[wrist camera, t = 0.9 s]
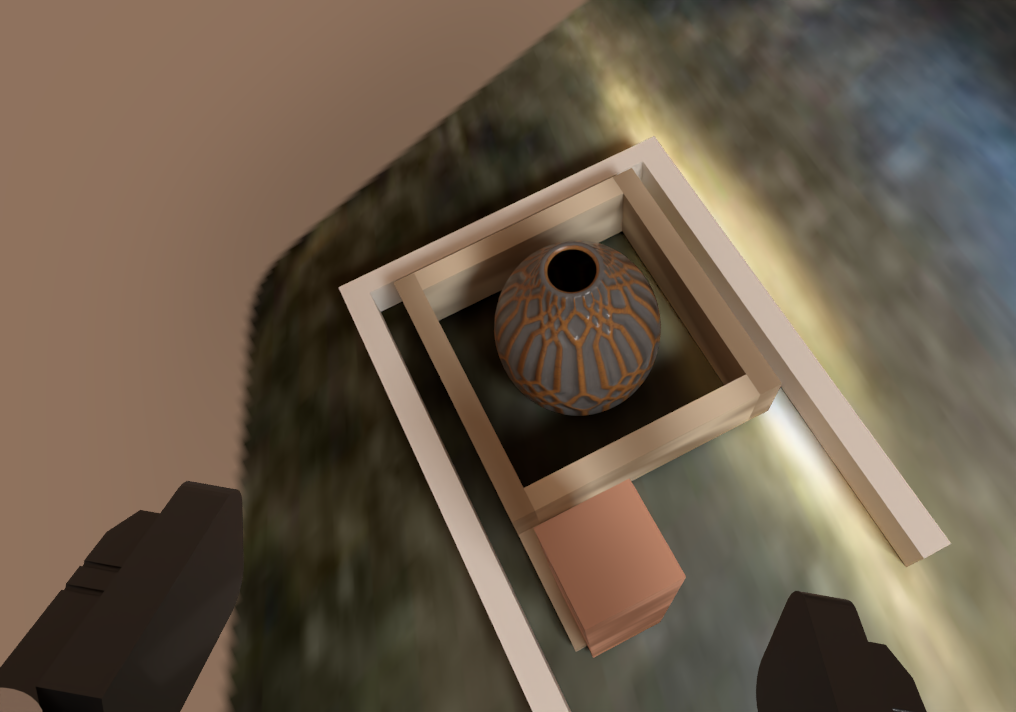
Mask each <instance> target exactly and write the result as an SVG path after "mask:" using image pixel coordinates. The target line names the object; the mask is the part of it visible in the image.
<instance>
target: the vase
mask: <svg viewBox="0 0 1016 712" xmlns="http://www.w3.org/2000/svg"><path fill="white" fill-rule="evenodd" d="M660 332H661V321H660V313H659V308H658V304H657V301H656V298H655V295H654V293H653V291H652V288H651V287H650V285H649V283H648V281H647V280H646V278H645V277H644V275H643V274H642V272H641V271H640V270H639V269H638V268H637V266H636V265H635V264H634V263H633V262H631V261H630V260H629V259H628V258H627V257H625V256H624V255H623V254H621V253H620V252H618V251H616V250H615V249H612V248H610V247H608V246H606V245H603V244H599V243H595V242H590V241H582V240H571V241H563V242H559V243H555V244H552V245H549V246H546V247H544V248H542V249H540V250H538V251H536V252H534V253H533V254H531V255H530V256H529V257H527V258H526V259H525V260H524V261H523V262H521V263H520V264H519V266H518V267H517V268H516V269H515V270H514V271H513V272H512V274H511V275H510V277H509V278H508V280H507V282H506V283H505V285H504V287H503V289H502V292H501V294H500V297H499V300H498V303H497V308H496V312H495V319H494V336H495V342H496V347H497V351H498V355H499V358H500V360H501V363H502V365H503V367H504V369H505V371H506V373H507V375H508V376H509V378H510V380H511V381H512V382H513V384H514V385H515V386H516V387H517V388H518V390H519V391H520V392H521V393H523V394H524V395H525V396H526V397H527V398H529V399H530V400H531V401H533V402H534V403H536V404H537V405H539V406H541V407H543V408H545V409H547V410H550V411H553V412H556V413H560V414H565V415H573V416H583V415H592V414H596V413H600V412H603V411H606V410H608V409H611V408H613V407H615V406H617V405H618V404H620V403H622V402H623V401H625V400H626V399H628V398H629V397H630V396H631V395H632V394H633V393H634V392H635V391H636V390H637V389H638V388H639V387H640V386H641V384H642V383H643V382H644V381H645V379H646V378H647V376H648V374H649V373H650V371H651V369H652V366H653V364H654V361H655V359H656V355H657V352H658V347H659V342H660Z"/></svg>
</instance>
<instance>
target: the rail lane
mask: <svg viewBox="0 0 1016 712" xmlns="http://www.w3.org/2000/svg"><path fill="white" fill-rule="evenodd" d="M630 168H632V169H633V170H634V172H635V173H636V175H637V176H638V177H639V179H640V180H641V182H642V183H643V185H644V186H645V187H646V189H647V190H648V192H649V193H650V195H651V196H652V197H653V199H654V200H655V202H656V203H657V205H658V206H659V207H660V209H661V210H662V212H663V213H664V215H665V216H666V218H667V219H668V220H669V222H670V223H671V225H672V226H673V228H674V229H675V230H676V232H677V233H678V235H679V236H680V238H681V239H682V240H683V242H684V243H685V245H686V246H687V248H688V249H689V251H690V252H691V253H692V255H693V256H694V258H695V259H696V261H697V262H698V263H699V265H700V266H701V268H702V269H703V271H704V272H705V273H706V275H707V276H708V278H709V279H710V281H711V282H712V284H713V285H714V286H715V288H716V289H717V291H718V292H719V294H720V295H721V296H722V298H723V299H724V301H725V302H726V304H727V305H728V306H729V308H730V309H731V311H732V312H733V314H734V315H735V317H736V318H737V319H738V321H739V322H740V324H741V325H742V327H743V328H744V329H745V331H746V332H747V334H748V335H749V337H750V338H751V339H752V341H753V342H754V344H755V345H756V347H757V348H758V350H759V351H760V352H761V354H762V355H763V357H764V358H765V360H766V361H767V362H768V364H769V365H770V367H771V368H772V370H773V371H774V372H775V374H776V375H777V377H778V378H779V380H780V381H781V383H782V385H781V387H782V389H783V390H784V392H785V393H786V395H787V396H788V397H789V399H790V400H791V402H792V403H793V405H794V406H795V408H796V409H797V410H798V412H799V413H800V415H801V416H802V418H803V419H804V420H805V422H806V423H807V425H808V426H809V428H810V429H811V431H812V432H813V433H814V435H815V436H816V438H817V439H818V441H819V442H820V443H821V445H822V446H823V448H824V449H825V451H826V452H827V454H828V455H829V456H830V458H831V459H832V461H833V462H834V464H835V465H836V467H837V468H838V469H839V471H840V472H841V474H842V475H843V477H844V478H845V479H846V481H847V482H848V484H849V485H850V487H851V488H852V490H853V491H854V492H855V494H856V495H857V497H858V498H859V500H860V501H861V502H862V504H863V505H864V507H865V508H866V510H867V511H868V513H869V514H870V515H871V517H872V518H873V520H874V521H875V523H876V524H877V525H878V527H879V528H880V530H881V531H882V533H883V534H884V536H885V537H886V538H887V540H888V541H889V543H890V544H891V546H892V547H893V549H894V550H895V551H896V553H897V554H898V556H899V557H900V559H901V560H902V561H903V563H904V564H905V566H906V567H907V566H910V565H912V564H914V563H916V562H918V561H920V560H922V559H924V558H926V557H928V556H929V555H931V554H933V553H935V552H937V551H939V550H941V549H942V548H944V547H946V546H948V545H950V544H951V543H950V541H949V540H948V539H947V537H946V536H945V535H944V533H943V532H942V530H941V529H940V528H939V526H938V525H937V524H936V522H935V521H934V519H933V518H932V517H931V515H930V514H929V513H928V511H927V510H926V509H925V507H924V506H923V504H922V503H921V502H920V500H919V499H918V498H917V496H916V495H915V493H914V492H913V491H912V489H911V488H910V487H909V485H908V484H907V482H906V481H905V480H904V478H903V477H902V476H901V474H900V473H899V471H898V470H897V469H896V467H895V466H894V465H893V463H892V462H891V460H890V459H889V458H888V456H887V455H886V454H885V452H884V451H883V449H882V448H881V447H880V445H879V444H878V443H877V441H876V440H875V438H874V437H873V436H872V434H871V433H870V432H869V430H868V429H867V428H866V426H865V425H864V423H863V422H862V421H861V419H860V418H859V417H858V415H857V414H856V412H855V411H854V410H853V408H852V407H851V406H850V404H849V403H848V401H847V400H846V399H845V397H844V396H843V395H842V393H841V392H840V390H839V389H838V388H837V386H836V385H835V384H834V382H833V381H832V379H831V378H830V377H829V375H828V374H827V373H826V371H825V370H824V368H823V367H822V366H821V364H820V363H819V362H818V360H817V359H816V357H815V356H814V355H813V353H812V352H811V351H810V349H809V348H808V347H807V345H806V344H805V342H804V341H803V340H802V338H801V337H800V336H799V334H798V333H797V331H796V330H795V329H794V327H793V326H792V325H791V323H790V322H789V320H788V319H787V318H786V316H785V315H784V314H783V312H782V311H781V309H780V308H779V307H778V305H777V304H776V303H775V301H774V300H773V298H772V297H771V296H770V294H769V293H768V292H767V290H766V289H765V287H764V286H763V285H762V283H761V282H760V281H759V279H758V278H757V276H756V275H755V274H754V272H753V271H752V270H751V268H750V267H749V266H748V264H747V263H746V261H745V260H744V259H743V257H742V256H741V255H740V253H739V252H738V250H737V249H736V248H735V246H734V245H733V244H732V242H731V241H730V239H729V238H728V237H727V235H726V234H725V233H724V231H723V230H722V228H721V227H720V226H719V224H718V223H717V222H716V220H715V219H714V217H713V216H712V215H711V213H710V212H709V211H708V209H707V208H706V206H705V205H704V204H703V202H702V201H701V200H700V198H699V197H698V195H697V194H696V193H695V191H694V190H693V189H692V187H691V186H690V185H689V183H688V182H687V180H686V179H685V178H684V176H683V175H682V174H681V172H680V171H679V169H678V168H677V167H676V165H675V164H674V163H673V161H672V160H671V158H670V157H669V156H668V154H667V153H666V152H665V150H664V149H663V147H662V146H661V145H660V143H659V142H658V141H657V139H656V138H655V136H653V137H651V138H649V139H647V140H645V141H643V142H641V143H639V144H636V145H634V146H632V147H630V148H628V149H626V150H624V151H622V152H620V153H618V154H616V155H614V156H611V157H609V158H607V159H605V160H603V161H601V162H599V163H597V164H595V165H593V166H591V167H589V168H586V169H584V170H582V171H580V172H578V173H576V174H574V175H572V176H570V177H568V178H566V179H563V180H561V181H559V182H557V183H555V184H553V185H551V186H549V187H547V188H545V189H543V190H541V191H538V192H536V193H534V194H532V195H530V196H528V197H526V198H524V199H522V200H520V201H518V202H516V203H513V204H511V205H509V206H507V207H505V208H503V209H501V210H499V211H497V212H495V213H493V214H490V215H488V216H486V217H484V218H482V219H480V220H478V221H476V222H474V223H472V224H470V225H468V226H465V227H463V228H461V229H459V230H457V231H455V232H453V233H451V234H449V235H447V236H445V237H443V238H440V239H438V240H436V241H434V242H432V243H430V244H428V245H426V246H424V247H422V248H420V249H417V250H415V251H413V252H411V253H409V254H407V255H405V256H403V257H401V258H399V259H397V260H395V261H392V262H390V263H388V264H386V265H384V266H382V267H380V268H378V269H376V270H374V271H372V272H370V273H367V274H365V275H363V276H361V277H359V278H357V279H355V280H353V281H351V282H349V283H347V284H344V285H342V286H340V287H339V290H340V292H341V294H342V296H343V298H344V300H345V303H346V305H347V307H348V309H349V311H350V314H351V316H352V318H353V320H354V322H355V325H356V327H357V329H358V331H359V333H360V335H361V338H362V340H363V342H364V344H365V346H366V349H367V351H368V353H369V355H370V357H371V360H372V362H373V364H374V366H375V368H376V370H377V373H378V375H379V377H380V379H381V381H382V384H383V386H384V388H385V390H386V392H387V395H388V397H389V399H390V401H391V403H392V405H393V408H394V410H395V412H396V414H397V416H398V419H399V421H400V423H401V425H402V427H403V430H404V432H405V434H406V436H407V438H408V440H409V443H410V445H411V447H412V449H413V451H414V454H415V456H416V458H417V460H418V462H419V464H420V467H421V469H422V471H423V473H424V475H425V478H426V480H427V482H428V484H429V486H430V489H431V491H432V493H433V495H434V497H435V499H436V502H437V504H438V506H439V508H440V510H441V513H442V515H443V517H444V519H445V521H446V524H447V526H448V528H449V530H450V532H451V534H452V537H453V539H454V541H455V543H456V545H457V548H458V550H459V552H460V554H461V556H462V559H463V561H464V563H465V565H466V567H467V569H468V572H469V574H470V576H471V578H472V580H473V583H474V585H475V587H476V589H477V591H478V594H479V596H480V598H481V600H482V602H483V604H484V607H485V609H486V611H487V613H488V615H489V618H490V620H491V622H492V624H493V626H494V629H495V631H496V633H497V635H498V637H499V639H500V642H501V644H502V646H503V648H504V650H505V653H506V655H507V657H508V659H509V661H510V663H511V666H512V668H513V670H514V672H515V674H516V677H517V679H518V681H519V683H520V685H521V688H522V690H523V692H524V694H525V696H526V698H527V701H528V703H529V705H530V707H531V709H532V712H571V710H570V708H569V706H568V704H567V702H566V700H565V698H564V695H563V693H562V691H561V689H560V687H559V685H558V683H557V681H556V679H555V677H554V675H553V672H552V670H551V668H550V666H549V664H548V662H547V660H546V658H545V656H544V654H543V651H542V649H541V647H540V645H539V643H538V641H537V639H536V637H535V635H534V633H533V630H532V628H531V626H530V624H529V622H528V620H527V618H526V616H525V614H524V612H523V609H522V607H521V605H520V603H519V601H518V599H517V597H516V595H515V593H514V591H513V589H512V586H511V584H510V582H509V580H508V578H507V576H506V574H505V572H504V570H503V568H502V565H501V563H500V561H499V559H498V557H497V555H496V553H495V551H494V549H493V547H492V544H491V542H490V540H489V538H488V536H487V534H486V532H485V530H484V528H483V526H482V523H481V521H480V519H479V517H478V515H477V513H476V511H475V509H474V507H473V505H472V502H471V500H470V498H469V496H468V494H467V492H466V490H465V488H464V486H463V484H462V482H461V479H460V477H459V475H458V473H457V471H456V469H455V467H454V465H453V463H452V461H451V458H450V456H449V454H448V452H447V450H446V448H445V446H444V444H443V442H442V440H441V437H440V435H439V433H438V431H437V429H436V427H435V425H434V423H433V421H432V419H431V416H430V414H429V412H428V410H427V408H426V406H425V404H424V402H423V400H422V398H421V396H420V393H419V391H418V389H417V387H416V385H415V383H414V381H413V379H412V377H411V375H410V372H409V370H408V368H407V366H406V364H405V362H404V360H403V358H402V356H401V354H400V351H399V349H398V347H397V345H396V343H395V341H394V339H393V337H392V335H391V333H390V330H389V328H388V326H387V324H386V322H385V320H384V318H383V316H382V314H381V311H383V310H385V309H388V308H390V307H392V306H394V305H396V304H398V303H400V302H402V299H401V297H400V295H399V293H398V291H397V289H396V287H395V285H394V282H396V281H398V280H400V279H402V278H404V277H406V276H408V275H410V274H412V273H414V272H417V271H419V270H421V269H423V268H425V267H427V266H429V265H431V264H433V263H435V262H437V261H439V260H441V259H444V258H446V257H448V256H450V255H452V254H454V253H456V252H458V251H460V250H462V249H464V248H466V247H468V246H470V245H473V244H475V243H477V242H479V241H481V240H483V239H485V238H487V237H489V236H491V235H493V234H495V233H497V232H500V231H502V230H504V229H506V228H508V227H510V226H512V225H514V224H516V223H518V222H520V221H522V220H524V219H527V218H529V217H531V216H533V215H535V214H537V213H539V212H541V211H543V210H545V209H547V208H549V207H551V206H554V205H556V204H558V203H560V202H562V201H564V200H566V199H568V198H570V197H572V196H574V195H576V194H578V193H580V192H583V191H585V190H587V189H589V188H591V187H593V186H595V185H597V184H599V183H601V182H603V181H605V180H607V179H610V178H612V177H614V176H616V175H618V174H620V173H622V172H624V171H626V170H628V169H630Z"/></svg>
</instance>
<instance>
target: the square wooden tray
mask: <svg viewBox="0 0 1016 712" xmlns="http://www.w3.org/2000/svg"><path fill="white" fill-rule="evenodd" d="M621 231H623V233H624V234H625V236H626V237H627V239H628V241H629V242H630V244H631V245H632V247H633V248H634V250H635V251H636V253H637V254H638V256H639V257H640V259H641V260H642V262H643V263H644V265H645V266H646V268H647V269H648V271H649V272H650V274H651V275H652V277H653V278H654V280H655V281H656V283H657V284H658V286H659V287H660V289H661V290H662V292H663V293H664V295H665V296H666V298H667V299H668V301H669V302H670V304H671V306H672V307H673V309H674V310H675V312H676V313H677V315H678V316H679V318H680V319H681V321H682V322H683V324H684V325H685V327H686V328H687V330H688V331H689V333H690V334H691V336H692V337H693V339H694V340H695V342H696V343H697V345H698V346H699V348H700V349H701V351H702V352H703V354H704V355H705V357H706V358H707V360H708V361H709V363H710V364H711V366H712V367H713V369H714V371H715V372H716V374H717V375H718V377H719V378H720V380H721V381H722V383H723V384H724V386H722V387H720V388H718V389H716V390H714V391H713V392H711V393H709V394H707V395H705V396H703V397H701V398H699V399H697V400H695V401H693V402H691V403H689V404H687V405H685V406H683V407H681V408H679V409H677V410H675V411H673V412H671V413H670V414H668V415H666V416H664V417H662V418H660V419H658V420H656V421H654V422H652V423H650V424H648V425H646V426H644V427H642V428H640V429H638V430H636V431H634V432H632V433H630V434H628V435H627V436H625V437H623V438H621V439H619V440H617V441H615V442H613V443H611V444H609V445H607V446H605V447H603V448H601V449H599V450H597V451H595V452H593V453H591V454H589V455H587V456H585V457H584V458H582V459H580V460H578V461H576V462H574V463H572V464H570V465H568V466H566V467H564V468H562V469H560V470H558V471H556V472H554V473H552V474H550V475H548V476H546V477H544V478H542V479H541V480H539V481H537V482H535V483H533V484H531V485H529V486H527V487H525V488H523V486H522V484H521V482H520V480H519V478H518V476H517V474H516V472H515V470H514V468H513V466H512V464H511V462H510V460H509V459H508V457H507V455H506V453H505V451H504V449H503V447H502V445H501V443H500V441H499V439H498V437H497V435H496V433H495V431H494V429H493V427H492V425H491V423H490V421H489V419H488V417H487V415H486V413H485V411H484V409H483V408H482V406H481V404H480V402H479V400H478V398H477V396H476V394H475V392H474V390H473V388H472V386H471V384H470V382H469V380H468V378H467V376H466V374H465V372H464V370H463V368H462V366H461V364H460V362H459V360H458V358H457V357H456V355H455V353H454V351H453V349H452V347H451V345H450V343H449V341H448V339H447V337H446V335H445V333H444V331H443V329H442V327H441V325H440V323H439V320H441V319H443V318H445V317H447V316H449V315H451V314H454V313H456V312H458V311H460V310H462V309H464V308H466V307H468V306H470V305H472V304H474V303H476V302H478V301H480V300H482V299H484V298H486V297H488V296H490V295H492V294H494V293H497V292H499V291H501V290H502V289H503V287H504V285H505V283H506V282H507V280H508V278H509V277H510V275H511V274H512V272H513V271H514V270H515V269H516V268H517V267H518V266H519V264H520V263H521V262H523V261H524V260H525V259H526V258H527V257H529V256H530V255H531V254H533V253H534V252H536V251H538V250H540V249H542V248H544V247H546V246H549V245H552V244H555V243H559V242H563V241H571V240H582V241H590V242H595V243H599V242H601V241H603V240H605V239H607V238H609V237H611V236H613V235H615V234H617V233H619V232H621ZM394 285H395V287H396V289H397V291H398V293H399V295H400V297H401V299H402V301H403V303H404V305H405V307H406V309H407V311H408V313H409V315H410V317H411V319H412V321H413V323H414V325H415V327H416V329H417V331H418V333H419V335H420V337H421V339H422V341H423V343H424V345H425V348H426V350H427V352H428V354H429V356H430V358H431V360H432V362H433V364H434V366H435V368H436V370H437V372H438V374H439V376H440V378H441V380H442V382H443V384H444V386H445V388H446V390H447V392H448V394H449V396H450V398H451V400H452V402H453V404H454V406H455V408H456V410H457V412H458V414H459V416H460V418H461V420H462V422H463V424H464V426H465V429H466V431H467V433H468V435H469V437H470V439H471V441H472V443H473V445H474V447H475V449H476V451H477V453H478V455H479V457H480V459H481V461H482V463H483V465H484V467H485V469H486V471H487V473H488V475H489V477H490V479H491V481H492V483H493V485H494V487H495V489H496V491H497V493H498V495H499V497H500V499H501V501H502V503H503V505H504V508H505V510H506V512H507V514H508V516H509V518H510V520H511V522H512V524H513V526H514V528H515V529H516V531H517V533H518V535H519V537H520V539H521V541H522V543H523V545H524V547H525V549H526V551H527V553H528V555H529V558H530V560H531V562H532V564H533V566H534V568H535V570H536V572H537V574H538V576H539V578H540V580H541V582H542V584H543V586H544V588H545V590H546V592H547V594H548V596H549V598H550V600H551V602H552V604H553V606H554V608H555V610H556V612H557V614H558V616H559V618H560V620H561V622H562V624H563V626H564V628H565V630H566V632H567V634H568V636H569V639H570V641H571V643H572V645H573V647H574V649H575V651H578V650H580V649H582V648H584V647H586V646H588V648H589V650H590V652H591V654H592V656H593V658H594V657H596V656H598V655H599V654H601V653H603V652H605V651H607V650H609V649H611V648H613V647H614V646H616V645H618V644H620V643H622V642H624V641H626V640H628V639H629V638H631V637H633V636H635V635H637V634H639V633H641V632H642V631H644V630H646V629H648V628H650V627H652V626H654V625H656V624H657V623H659V622H661V620H662V618H663V616H664V615H665V613H666V611H667V609H668V608H669V606H670V604H671V602H672V601H673V599H674V597H675V595H676V594H677V592H678V590H679V588H680V587H681V585H682V583H683V581H684V580H685V578H686V576H685V574H684V573H683V571H682V569H681V567H680V566H679V564H678V562H677V560H676V559H675V557H674V555H673V553H672V552H671V550H670V548H669V546H668V545H667V543H666V541H665V539H664V538H663V536H662V534H661V532H660V531H659V529H658V527H657V525H656V524H655V522H654V520H653V518H652V517H651V515H650V513H649V511H648V510H647V508H646V506H645V504H644V503H643V501H642V499H641V497H640V496H639V494H638V492H637V490H636V489H635V487H634V485H633V484H632V482H631V481H633V480H635V479H636V478H638V477H640V476H642V475H644V474H646V473H648V472H650V471H652V470H654V469H656V468H658V467H660V466H662V465H664V464H665V463H667V462H669V461H671V460H673V459H675V458H677V457H679V456H681V455H683V454H685V453H687V452H689V451H691V450H693V449H694V448H696V447H698V446H700V445H702V444H704V443H706V442H708V441H710V440H712V439H714V438H716V437H718V436H720V435H722V434H724V433H725V432H727V431H729V430H731V429H733V428H735V427H737V426H739V425H741V424H743V423H745V422H747V421H749V420H751V419H753V418H754V417H756V416H758V415H760V414H762V413H764V412H766V411H768V410H769V408H770V406H771V404H772V402H773V400H774V398H775V396H776V394H777V392H778V391H779V389H780V387H781V385H782V383H781V381H780V380H779V378H778V377H777V375H776V374H775V372H774V371H773V370H772V368H771V367H770V365H769V364H768V362H767V361H766V360H765V358H764V357H763V355H762V354H761V352H760V351H759V350H758V348H757V347H756V345H755V344H754V342H753V341H752V339H751V338H750V337H749V335H748V334H747V332H746V331H745V329H744V328H743V327H742V325H741V324H740V322H739V321H738V319H737V318H736V317H735V315H734V314H733V312H732V311H731V309H730V308H729V306H728V305H727V304H726V302H725V301H724V299H723V298H722V296H721V295H720V294H719V292H718V291H717V289H716V288H715V286H714V285H713V284H712V282H711V281H710V279H709V278H708V276H707V275H706V273H705V272H704V271H703V269H702V268H701V266H700V265H699V263H698V262H697V261H696V259H695V258H694V256H693V255H692V253H691V252H690V251H689V249H688V248H687V246H686V245H685V243H684V242H683V240H682V239H681V238H680V236H679V235H678V233H677V232H676V230H675V229H674V228H673V226H672V225H671V223H670V222H669V220H668V219H667V218H666V216H665V215H664V213H663V212H662V210H661V209H660V207H659V206H658V205H657V203H656V202H655V200H654V199H653V197H652V196H651V195H650V193H649V192H648V190H647V189H646V187H645V186H644V185H643V183H642V182H641V180H640V179H639V177H638V176H637V175H636V173H635V172H634V170H633V169H632V168H630V169H628V170H626V171H624V172H622V173H620V174H618V175H616V176H614V177H612V178H610V179H607V180H605V181H603V182H601V183H599V184H597V185H595V186H593V187H591V188H589V189H587V190H585V191H583V192H580V193H578V194H576V195H574V196H572V197H570V198H568V199H566V200H564V201H562V202H560V203H558V204H556V205H554V206H551V207H549V208H547V209H545V210H543V211H541V212H539V213H537V214H535V215H533V216H531V217H529V218H527V219H524V220H522V221H520V222H518V223H516V224H514V225H512V226H510V227H508V228H506V229H504V230H502V231H500V232H497V233H495V234H493V235H491V236H489V237H487V238H485V239H483V240H481V241H479V242H477V243H475V244H473V245H470V246H468V247H466V248H464V249H462V250H460V251H458V252H456V253H454V254H452V255H450V256H448V257H446V258H444V259H441V260H439V261H437V262H435V263H433V264H431V265H429V266H427V267H425V268H423V269H421V270H419V271H417V272H414V273H412V274H410V275H408V276H406V277H404V278H402V279H400V280H398V281H396V282H394Z"/></svg>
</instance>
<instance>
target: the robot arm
mask: <svg viewBox="0 0 1016 712" xmlns="http://www.w3.org/2000/svg"><path fill="white" fill-rule="evenodd" d="M242 577H243V517H242V496H241V493H240V491H239V490H236V489H230V488H224V487H219V486H213V485H208V484H202V483H197V482H190V481H186V482H185V483H183V484H182V485H181V486H180V487H179V488H178V490H177V491H176V492H175V494H174V495H173V497H172V498H171V499H170V501H169V502H168V503H167V505H166V506H165V508H164V509H163V510H162V512H161V513H154V512H148V511H143V510H140V511H138V512H137V513H135V514H134V515H132V516H130V517H129V518H127V519H126V520H124V521H123V522H121V523H120V524H118V525H117V526H115V527H114V528H112V529H111V530H109V531H107V532H106V534H105V535H104V536H103V538H102V539H101V540H100V541H99V543H98V544H97V545H96V546H95V548H94V549H93V550H92V551H91V553H90V554H89V555H88V556H87V558H86V559H85V561H84V565H83V566H80V567H79V568H78V569H77V570H76V572H75V573H74V574H73V576H72V577H71V578H70V580H69V581H68V582H67V583H66V588H65V589H64V590H61V591H60V592H59V593H58V595H57V596H56V597H55V599H54V600H53V601H52V602H51V604H50V605H49V606H48V607H47V609H46V610H45V611H44V613H43V614H42V615H41V616H40V618H39V619H38V620H37V622H36V623H35V624H34V625H33V627H32V628H31V629H30V630H29V632H28V633H27V634H26V636H25V637H24V638H23V639H22V641H21V642H20V643H19V644H18V646H17V647H16V649H14V651H13V652H12V653H11V655H10V656H9V657H8V658H7V660H6V661H5V662H4V664H3V665H2V666H1V667H0V712H180V711H181V709H182V707H183V705H184V703H185V701H186V699H187V697H188V696H189V694H190V692H191V690H192V688H193V686H194V684H195V682H196V680H197V678H198V676H199V674H200V672H201V671H202V669H203V667H204V665H205V663H206V661H207V659H208V657H209V655H210V653H211V651H212V649H213V647H214V645H215V644H216V642H217V640H218V638H219V636H220V634H221V632H222V630H223V628H224V626H225V624H226V622H227V620H228V619H229V617H230V615H231V613H232V611H233V609H234V606H235V604H236V601H237V598H238V595H239V591H240V587H241V583H242ZM756 700H757V708H758V712H926V709H925V707H924V704H923V702H922V700H921V697H920V695H919V692H918V690H917V687H916V685H915V682H914V680H913V678H912V677H911V675H910V674H909V673H908V672H907V670H906V669H905V668H904V667H903V666H902V664H901V663H900V662H899V661H898V659H897V658H896V657H895V656H894V655H893V653H892V652H891V651H890V650H889V648H888V647H887V646H886V645H884V644H878V643H873V642H868V640H867V638H866V635H865V632H864V629H863V627H862V624H861V621H860V619H859V616H858V613H857V611H856V608H855V606H854V605H853V603H852V602H851V601H849V600H846V599H840V598H834V597H829V596H823V595H817V594H812V593H806V592H800V591H795V592H793V593H792V594H791V595H790V597H789V598H788V600H787V602H786V605H785V607H784V609H783V612H782V614H781V616H780V619H779V621H778V623H777V626H776V628H775V630H774V632H773V635H772V637H771V639H770V642H769V644H768V646H767V649H766V651H765V653H764V656H763V658H762V660H761V663H760V666H759V671H758V676H757V685H756Z"/></svg>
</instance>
